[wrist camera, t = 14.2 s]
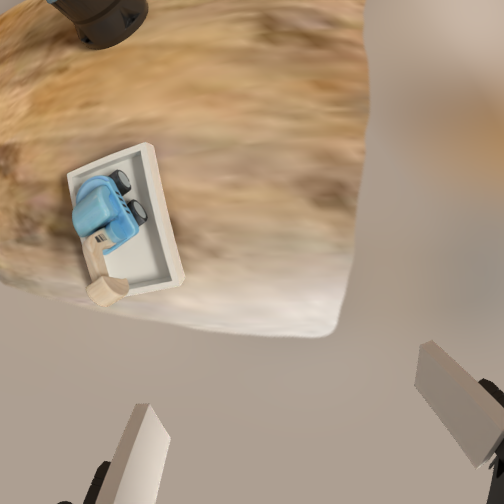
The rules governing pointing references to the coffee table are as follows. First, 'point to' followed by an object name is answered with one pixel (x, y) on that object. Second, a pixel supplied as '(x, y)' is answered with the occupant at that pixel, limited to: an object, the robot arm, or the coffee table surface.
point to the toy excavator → (105, 230)
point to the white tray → (150, 233)
